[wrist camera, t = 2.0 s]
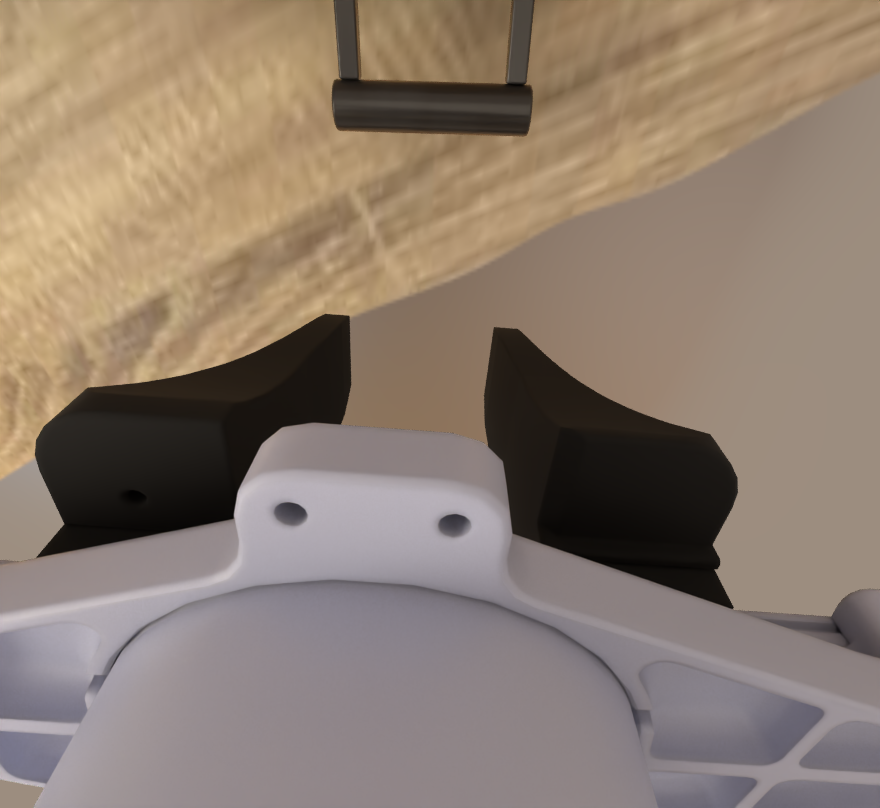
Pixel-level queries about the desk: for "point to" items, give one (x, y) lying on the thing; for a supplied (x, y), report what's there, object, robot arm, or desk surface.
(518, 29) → the drawer
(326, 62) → the desk surface
